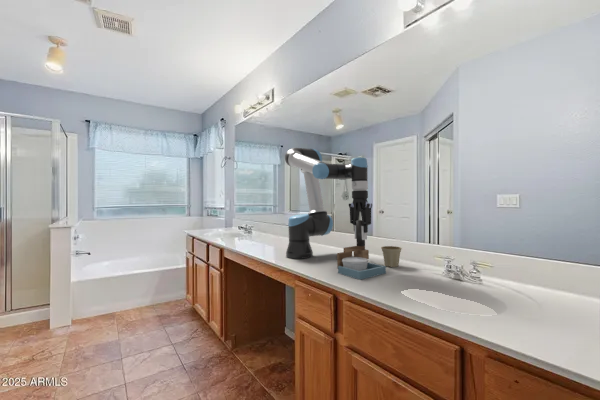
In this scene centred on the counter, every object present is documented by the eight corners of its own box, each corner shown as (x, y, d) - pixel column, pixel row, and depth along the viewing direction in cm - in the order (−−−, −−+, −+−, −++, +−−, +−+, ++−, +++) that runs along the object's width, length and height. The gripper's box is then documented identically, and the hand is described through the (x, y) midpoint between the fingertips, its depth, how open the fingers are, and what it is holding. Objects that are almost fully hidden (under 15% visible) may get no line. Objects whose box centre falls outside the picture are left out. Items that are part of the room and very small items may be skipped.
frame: (338, 273, 126) (337, 266, 126) (363, 267, 135) (363, 261, 135) (359, 279, 116) (359, 272, 116) (385, 273, 124) (385, 266, 124)
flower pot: (390, 262, 144) (390, 245, 144) (406, 266, 136) (406, 247, 136) (377, 265, 139) (376, 247, 139) (392, 269, 131) (392, 250, 131)
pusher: (334, 267, 134) (333, 222, 134) (359, 262, 143) (358, 219, 143) (342, 270, 129) (342, 222, 129) (368, 264, 138) (367, 220, 138)
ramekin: (373, 271, 128) (373, 259, 128) (357, 276, 121) (357, 263, 121) (353, 266, 137) (353, 255, 137) (337, 271, 129) (337, 259, 129)
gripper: (341, 190, 145) (342, 237, 145) (367, 189, 130) (368, 241, 131) (352, 190, 149) (353, 236, 149) (379, 189, 135) (380, 240, 135)
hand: (360, 238), depth 140 cm, fingers closed on pusher, 4 cm apart
